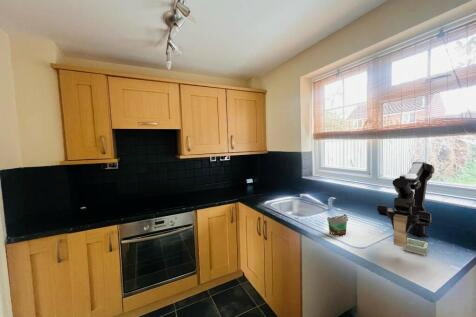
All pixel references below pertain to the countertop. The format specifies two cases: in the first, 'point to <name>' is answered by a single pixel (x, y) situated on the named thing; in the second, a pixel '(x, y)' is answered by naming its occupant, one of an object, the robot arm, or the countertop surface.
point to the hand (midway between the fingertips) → (399, 230)
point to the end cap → (416, 246)
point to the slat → (400, 230)
